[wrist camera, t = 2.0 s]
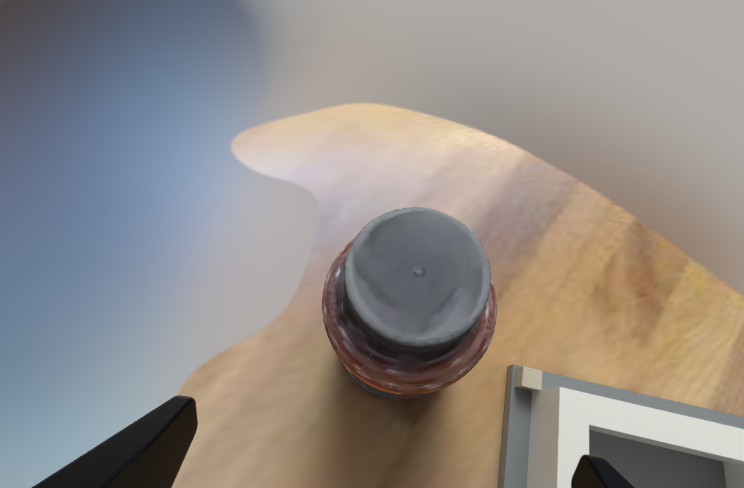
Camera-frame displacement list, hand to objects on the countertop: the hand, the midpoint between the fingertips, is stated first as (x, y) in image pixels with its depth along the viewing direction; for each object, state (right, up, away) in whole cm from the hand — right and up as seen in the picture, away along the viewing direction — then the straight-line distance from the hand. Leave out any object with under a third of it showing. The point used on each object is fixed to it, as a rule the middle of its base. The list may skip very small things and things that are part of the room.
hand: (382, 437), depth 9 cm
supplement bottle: (+1, -1, +12) cm, 12 cm away
